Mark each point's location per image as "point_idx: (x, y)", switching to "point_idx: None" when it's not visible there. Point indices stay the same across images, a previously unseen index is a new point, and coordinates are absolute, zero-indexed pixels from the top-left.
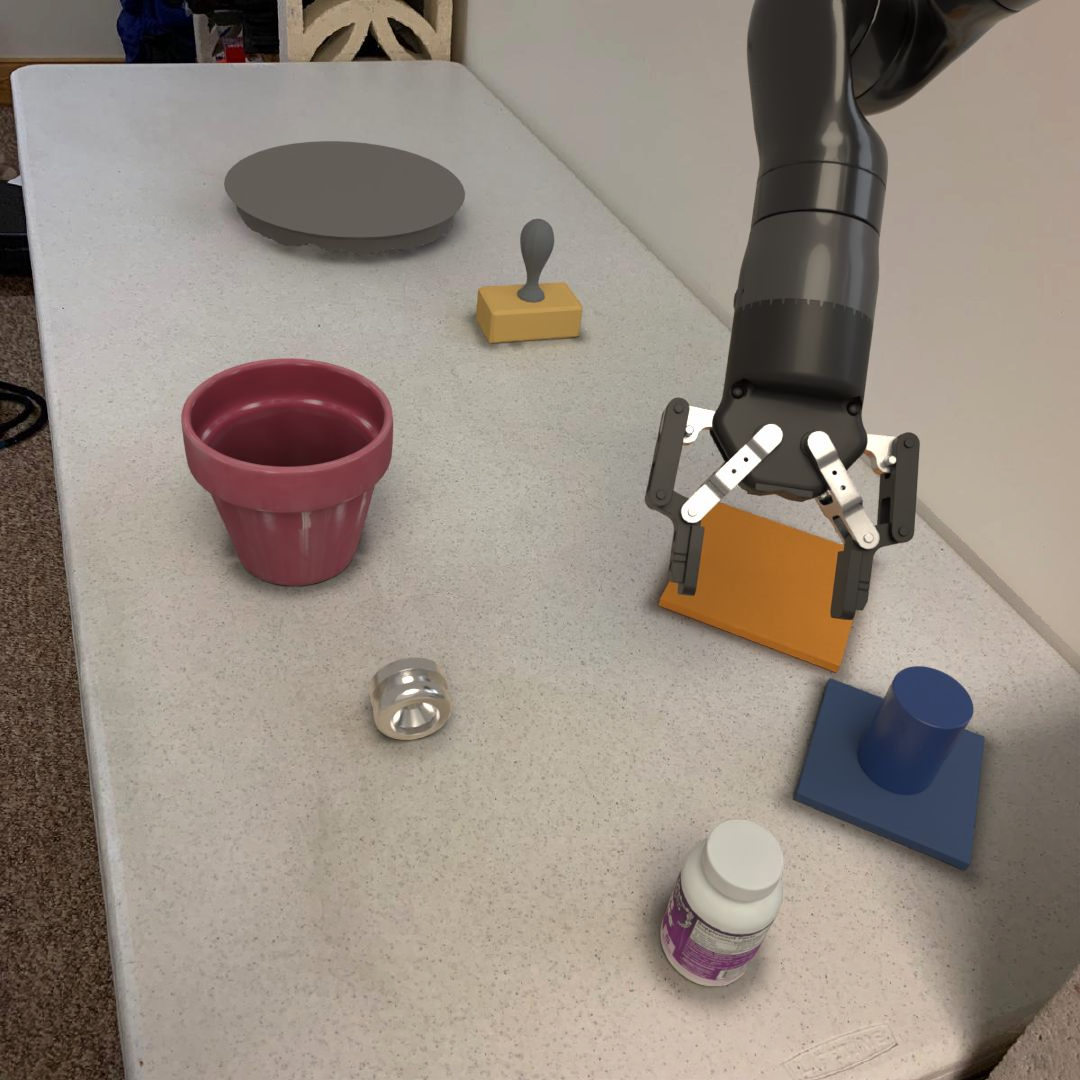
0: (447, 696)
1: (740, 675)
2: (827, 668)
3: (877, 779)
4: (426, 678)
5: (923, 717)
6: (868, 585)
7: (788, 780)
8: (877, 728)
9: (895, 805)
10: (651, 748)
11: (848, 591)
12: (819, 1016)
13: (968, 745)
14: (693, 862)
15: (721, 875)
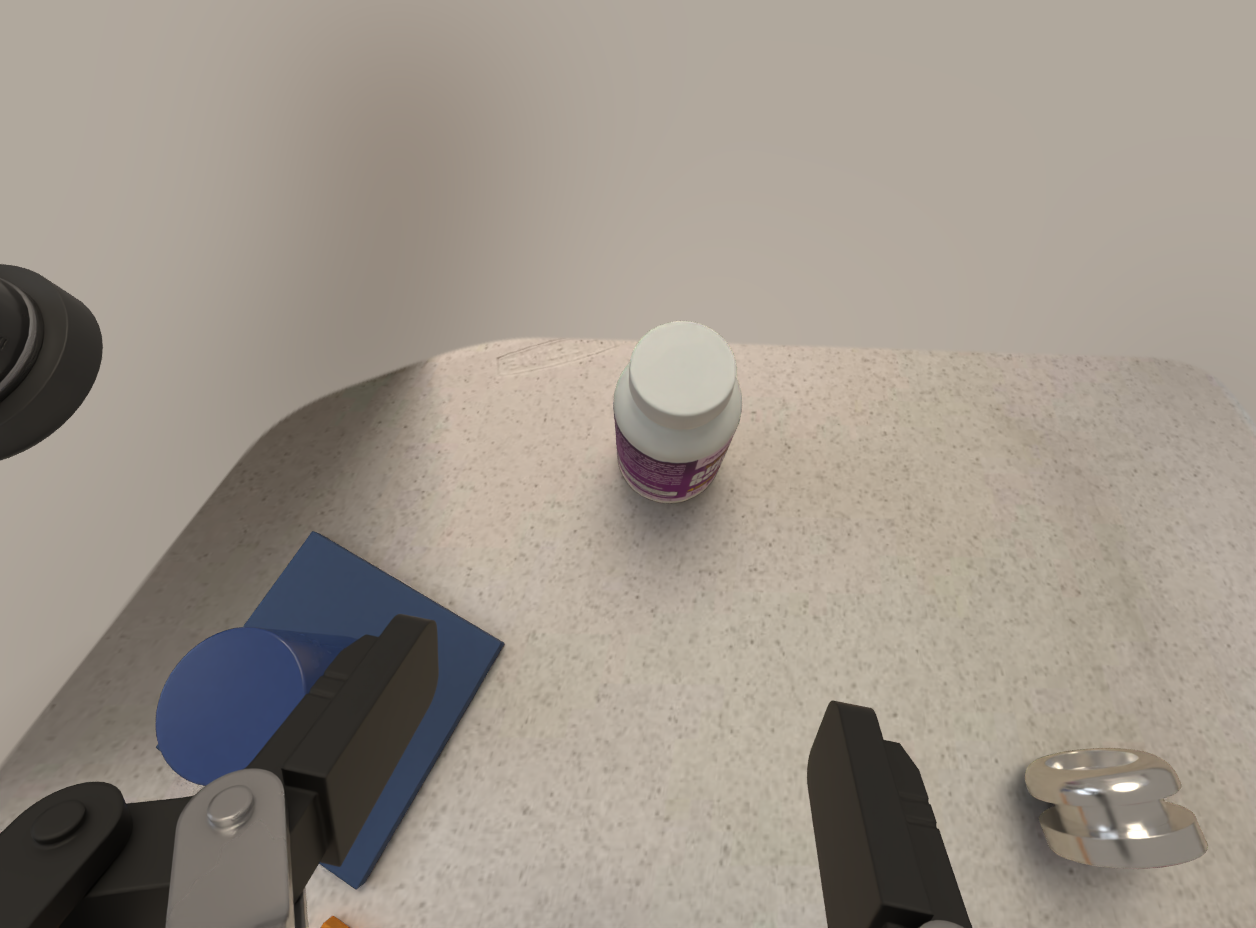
0: (1066, 788)
1: (511, 908)
2: (346, 925)
3: None
4: (1115, 829)
5: (278, 651)
6: (316, 684)
7: (500, 677)
8: None
9: (367, 620)
10: (692, 739)
11: (391, 660)
12: (565, 383)
13: None
14: (732, 408)
15: (722, 338)
